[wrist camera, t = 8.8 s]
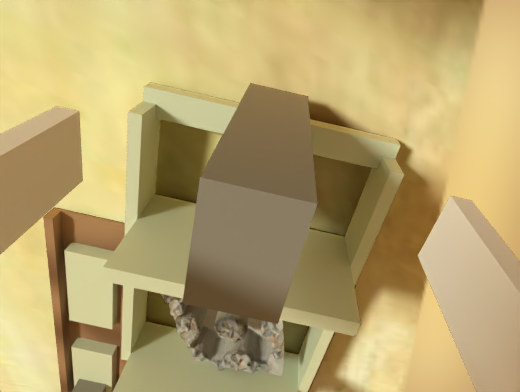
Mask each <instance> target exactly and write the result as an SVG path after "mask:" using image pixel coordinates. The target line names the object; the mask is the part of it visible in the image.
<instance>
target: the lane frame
mask: <svg viewBox="0 0 520 392" xmlns="http://www.w3.org/2000/svg"><path fill="white" fill-rule="evenodd" d="M43 218H44V227H45V237H46V247H47V257H48V266H49V276H50V286H51V296H52V305H53V315H54V325H55V335H56V344H57V354H58V364H59V374H60V383H61V392H72V390H73V389H74V376H73V362H72V348H71V347H72V345H73V344H74V342H75V341H76V339H77V337H80V338H84V339H89V340H94V341H98V342H103V343H108V344H112V345H117V381H116V384H117V382H118V380H119V377H120V375H121V373H122V371H123V369H124V367H125V365H126V362H127V360H122V359H121V342H122V306H123V285H119V284H118V320H117V322H116V324H115V325H114V327H113V329H107V328H103V327H98V326H94V325H89V324H84V323H80V322H75V321H71V320H69V307H68V293H67V280H66V266H65V252H64V250H65V249H66V248H67V247H68V246H69V245H70V244H71V243H72V242H74V243H79V244H83V245H88V246H93V247H97V248H102V249H106V250H111V251H115V249H116V248H117V247H118V245H119V244H120V242H121V241H122V240H123V238H124V236H125V223H122V222H117V221H113V220H108V219H104V218H99V217H95V216H90V215H86V214H81V213H77V212H72V211H68V210H63V209H59V208H53V209H52V210H50V211H49V212H48V213H47V214H46V215H45V216H44V217H43ZM355 287H356V284H355ZM355 287H354V289H355ZM334 334H335V332H334ZM334 334H333V336H334ZM333 336H332V338H331V340H330V343H331V341H332V339H333ZM330 343H329V345H330ZM329 345H328V347H329ZM328 347H327V349H326V352H327V350H328ZM326 352H325V354H326ZM325 354H324V356H325ZM324 356H323V358H322V361H323V359H324ZM322 361H321V363H322ZM321 363H320V365H321ZM320 365H319V367H318V369H317V372H318V370H319V368H320ZM317 372H316V374H317ZM316 374H315V376H316ZM315 376H314V378H313V381H314V379H315ZM313 381H312V383H313ZM312 383H311V385H312ZM311 385H310V387H309V390H310V388H311ZM309 390H308V392H309Z"/></svg>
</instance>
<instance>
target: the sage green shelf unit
mask: <svg viewBox="0 0 520 392" xmlns="http://www.w3.org/2000/svg"><path fill="white" fill-rule="evenodd" d="M160 120H164V121H169V122H173V123H177V124H182V125H186V126H190V127H195V128H199V129H204V130H208V131H212V132H217V133H221V134H223V135H222V137H221V139H220V141H219V143H218V145H217V146H216V148H215V150H214V152H213V154H212V156H211V158H210V160H209V161H208V163H207V165H206V167H205V169H204V171H203V173H202V174H201V176H200V181H199V188H198V195H197V202H196V203H192V202H188V201H183V200H179V199H174V198H170V197H166V196H161V195H157V194H155V188H156V174H157V160H158V147H159V133H160ZM400 146H401V145H400V143H399V142H398V140H397V139H394V138H390V137H386V136H381V135H377V134H373V133H368V132H364V131H360V130H355V129H351V128H347V127H342V126H338V125H334V124H329V123H325V122H321V121H316V120H312V119H310V114H309V103H308V96H304V95H299V94H295V93H291V92H287V91H282V90H278V89H274V88H269V87H265V86H261V85H256V84H252V83H250V85H249V87H248V89H247V90H246V92H245V94H244V96H243V98H242V100H241V102H240V103H238V102H234V101H229V100H225V99H221V98H216V97H212V96H208V95H203V94H199V93H195V92H190V91H186V90H182V89H177V88H173V87H169V86H164V85H160V84H156V83H151V82H150V83H149V84H147V85H145V86H144V93H143V102H141V103H140V104H138V105H137V106H135V107H134V108H133V109H131V110H130V111H128V130H127V165H126V200H125V236H124V238H123V240H122V241H121V242H120V244H119V245H118V247H117V248H116V249H115V251H114V252H113V254H112V255H111V256H110V258H109V259H108V261H107V262H106V263H105V265H104V266H103V281H105V282H110V283H114V284H119V285H123V306H122V342H121V359H122V360H127V362H126V365H125V367H124V369H123V371H122V373H121V375H120V377H119V380H118V382H117V384H116V386H115V388H114V390H113V392H308V390H309V387H310V385H311V383H312V381H313V378H314V376H315V374H316V372H317V369H318V367H319V365H320V363H321V361H322V358H323V356H324V354H325V352H326V349H327V347H328V345H329V343H330V340H331V338H332V336H333V334H334V332H338V333H342V334H347V335H351V336H355V335H356V333H357V331H358V329H359V327H360V325H361V320H360V315H359V310H358V304H357V299H356V294H355V289H354V287H355V284H356V282H357V280H358V278H359V275H360V273H361V271H362V269H363V266H364V264H365V262H366V260H367V257H368V255H369V253H370V251H371V248H372V246H373V244H374V242H375V240H376V237H377V235H378V233H379V231H380V228H381V226H382V224H383V222H384V219H385V217H386V215H387V213H388V210H389V208H390V206H391V204H392V201H393V199H394V197H395V195H396V192H397V190H398V188H399V186H400V183H401V181H402V179H403V177H404V173H403V172H402V170H401V168H400V167H399V165H398V163H397V161H396V160H395V158H396V156H397V153H398V151H399V149H400ZM313 155H317V156H322V157H326V158H330V159H335V160H339V161H344V162H348V163H352V164H357V165H361V166H365V167H370V168H372V169H371V171H370V174H369V176H368V179H367V181H366V184H365V186H364V189H363V191H362V194H361V197H360V199H359V202H358V204H357V207H356V209H355V212H354V214H353V217H352V219H351V222H350V225H349V227H348V230H347V232H346V235H345V237H344V236H339V235H335V234H330V233H326V232H321V231H317V230H312V229H309V228H310V225H311V222H312V219H313V216H314V213H315V210H316V207H317V204H318V203H317V192H316V181H315V170H314V159H313ZM148 291H151V292H155V293H160V294H165V295H169V296H174V297H178V298H183V302H182V303H184V304H189V305H193V306H198V307H203V308H207V309H212V310H216V311H221V312H225V313H230V314H235V315H239V316H244V317H248V318H253V319H257V320H262V321H266V322H271V323H276V324H278V322H279V320H283V321H288V322H292V323H297V324H301V325H306V326H309V329H308V331H307V334H306V336H305V339H304V342H303V344H302V347H301V349H300V352H299V354H293V353H288V352H284V364H283V372H282V375H281V376H278V375H274V374H271V373H268V372H265V371H262V370H257V371H255V372H254V373H253V374H252V373H251V372H247V371H244V370H240V371H236V370H235V371H234V370H232V369H231V368H225V369H223V370H221V371H218V370H217V366H216V365H215V364H214V363H213V362H210V361H207V360H203V361H200V360H193V359H192V349H190V348H188V347H187V345H186V343H185V342H184V341H183V340H182V338H181V336H180V335H179V333H178V332H177V328H174V327H169V326H164V325H160V324H155V323H151V322H146V310H147V296H148Z"/></svg>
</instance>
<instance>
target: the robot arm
mask: <svg viewBox="0 0 520 392" xmlns="http://www.w3.org/2000/svg"><path fill="white" fill-rule="evenodd" d="M82 181H83V176H82V156H81V135H80V114H79V111H77V110H73V109H69V108H64V107H60V106H56V107H54V108H52V109H50V110H48V111H46V112H44V113H42V114H40V115H38V116H36V117H34V118H32V119H30V120H28V121H26V122H24V123H22V124H20V125H18V126H16V127H14V128H12V129H10V130H8V131H6V132H4V133H2V134H0V254H1V253H2V252H4V251H5V250H6V249H7V248H8V247H9V246H10V245H11V244H13V243H14V242H15V241H16V240H17V239H18V238H19V237H20V236H21V235H23V234H24V233H25V232H26V231H27V230H28V229H29V228H30V227H31V226H33V225H34V224H35V223H36V222H37V221H38V220H39V219H40V218H41V217H43V216H44V215H45V214H46V213H47V212H48V211H49V210H50V209H52V208H53V207H54V206H55V205H56V204H57V203H58V202H59V201H60V200H62V199H63V198H64V197H65V196H66V195H67V194H68V193H69V192H70V191H72V190H73V189H74V188H75V187H76V186H77V185H78V184H79V183H80V182H82ZM418 258H419V260H420V262H421V265H422V267H423V269H424V272H425V274H426V276H427V279H428V281H429V283H430V286H431V288H432V290H433V293H434V295H435V297H436V300H437V302H438V304H439V307H440V309H441V311H442V314H443V316H444V318H445V321H446V323H447V325H448V328H449V330H450V332H451V334H452V337H453V339H454V341H455V344H456V346H457V348H458V351H459V353H460V355H461V358H462V360H463V362H464V365H465V367H466V369H467V372H468V374H469V376H470V378H471V381H472V383H473V385H474V388H475V390H476V392H520V261H519V260H518V259H517V257H516V256H515V255H514V253H513V252H512V251H511V250H510V249H509V247H508V246H507V245H506V243H505V242H504V241H503V240H502V238H501V237H500V236H499V234H498V233H497V232H496V231H495V229H494V228H493V227H492V226H491V224H490V223H489V222H488V220H487V219H486V218H485V217H484V215H483V214H482V213H481V212H480V210H479V209H478V208H477V207H476V206H475V204H474V203H473V202H472V201H471V200H467V199H463V198H458V197H454V196H450V198H449V199H448V201H447V203H446V205H445V207H444V209H443V210H442V212H441V214H440V216H439V218H438V220H437V221H436V223H435V225H434V227H433V229H432V231H431V232H430V234H429V236H428V238H427V240H426V242H425V243H424V245H423V247H422V249H421V251H420V253H419V254H418Z"/></svg>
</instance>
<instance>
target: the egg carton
mask: <svg viewBox="0 0 520 392" xmlns="http://www.w3.org/2000/svg"><path fill="white" fill-rule="evenodd" d="M161 296H162V298H163V299H164V301H165V304H166V303H169V308H170V314H171V315H172V316H173V317H174V321H175V323H176V328H177V332H178V333H179V335H180V336H181V338H182V340H183V341H184V342H185V343H186V345H187V347H188V348H190V349H192V359H193V360H200V361H203V360H207V361H210V362H213V363H214V364H215V365H216V366H217V370H218V371H221V370H223V369H225V368H231V369H232V370H234V371H235V370H236V371H240V370H244V371H247V372H251V373H252V374H253V373H254V372H255V371H257V370H262V371H265V372H268V373H271V374H274V375H278V376H281V375H282V372H283V364H284V333H283V320H279V322H278V324H276V323H271V322H266V321H262V320H257V319H253V318H248V317H244V316H239V315H235V314H230V313H225V312H221V311H216V310H212V309H207V308H203V307H198V306H193V305H189V304H184V303H182V302H183V298H178V297H174V296H169V295H165V294H161Z"/></svg>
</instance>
